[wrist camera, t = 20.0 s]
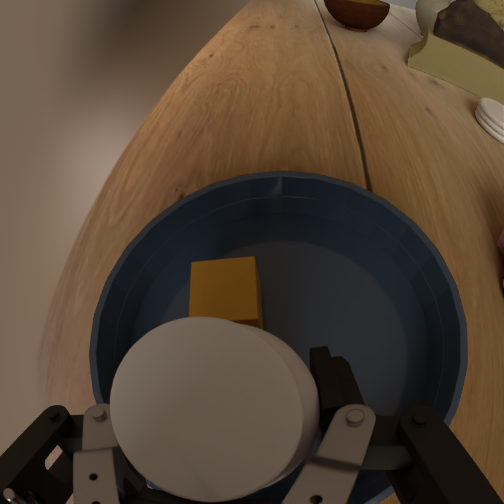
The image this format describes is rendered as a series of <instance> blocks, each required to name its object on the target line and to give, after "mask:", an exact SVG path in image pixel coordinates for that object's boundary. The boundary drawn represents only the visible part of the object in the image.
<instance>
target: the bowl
mask: <svg viewBox="0 0 504 504" xmlns="http://www.w3.org/2000/svg"><path fill="white" fill-rule="evenodd" d="M324 3H325V6H326V8H327V9H328V11H329V13H330V14H331V15H332V16H333V18H335V19H336V20H337V21H338V22H340V23H342V24H343V25H345V28H346V29H348V30H352V31H358V32H366V31H367V29H369V28H373V27H375V26H377V25H379V24H380V23H382V21H383V20H384V19H385V18H386V16H387V15H388V12H389V9H390V5H389V4H388V3H385V2H383V1H380V0H324Z"/></svg>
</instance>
